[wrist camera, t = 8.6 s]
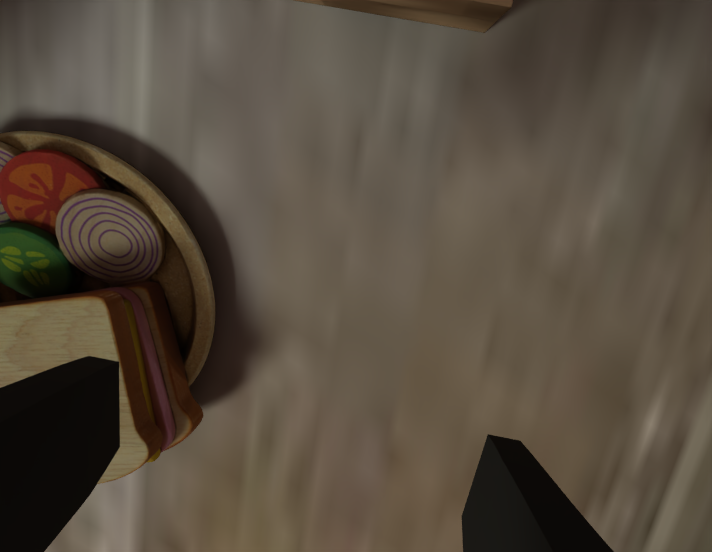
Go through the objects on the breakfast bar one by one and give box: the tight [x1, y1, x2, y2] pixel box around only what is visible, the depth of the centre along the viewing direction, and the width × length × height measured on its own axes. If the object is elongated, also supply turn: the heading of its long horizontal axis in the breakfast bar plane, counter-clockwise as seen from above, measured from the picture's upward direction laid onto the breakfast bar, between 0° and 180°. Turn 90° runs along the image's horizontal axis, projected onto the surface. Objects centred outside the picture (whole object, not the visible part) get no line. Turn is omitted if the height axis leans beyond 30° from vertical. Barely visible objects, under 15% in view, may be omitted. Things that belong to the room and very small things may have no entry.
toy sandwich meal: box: [0, 131, 215, 484], centre depth 18 cm, size 12×14×5 cm
